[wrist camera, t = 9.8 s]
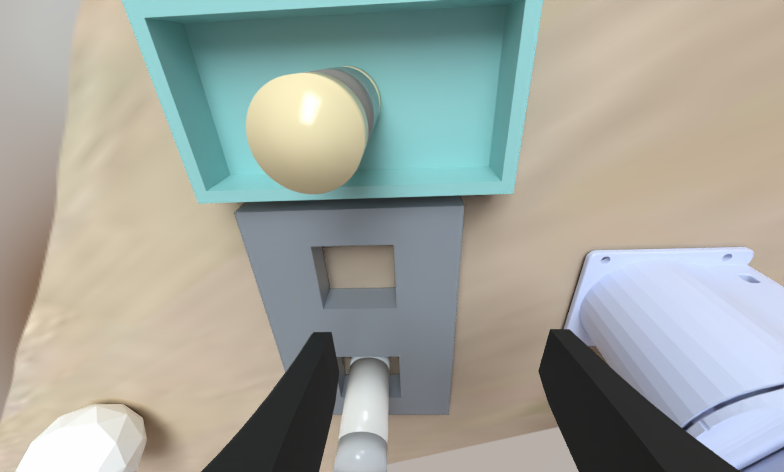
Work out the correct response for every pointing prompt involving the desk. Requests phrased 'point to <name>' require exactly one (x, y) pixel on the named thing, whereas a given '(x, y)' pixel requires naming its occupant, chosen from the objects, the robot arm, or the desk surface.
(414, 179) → the tray
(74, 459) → the geometric ball
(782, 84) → the desk surface
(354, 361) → the fuse
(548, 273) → the desk surface
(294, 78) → the led light bulb
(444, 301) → the fuse block
